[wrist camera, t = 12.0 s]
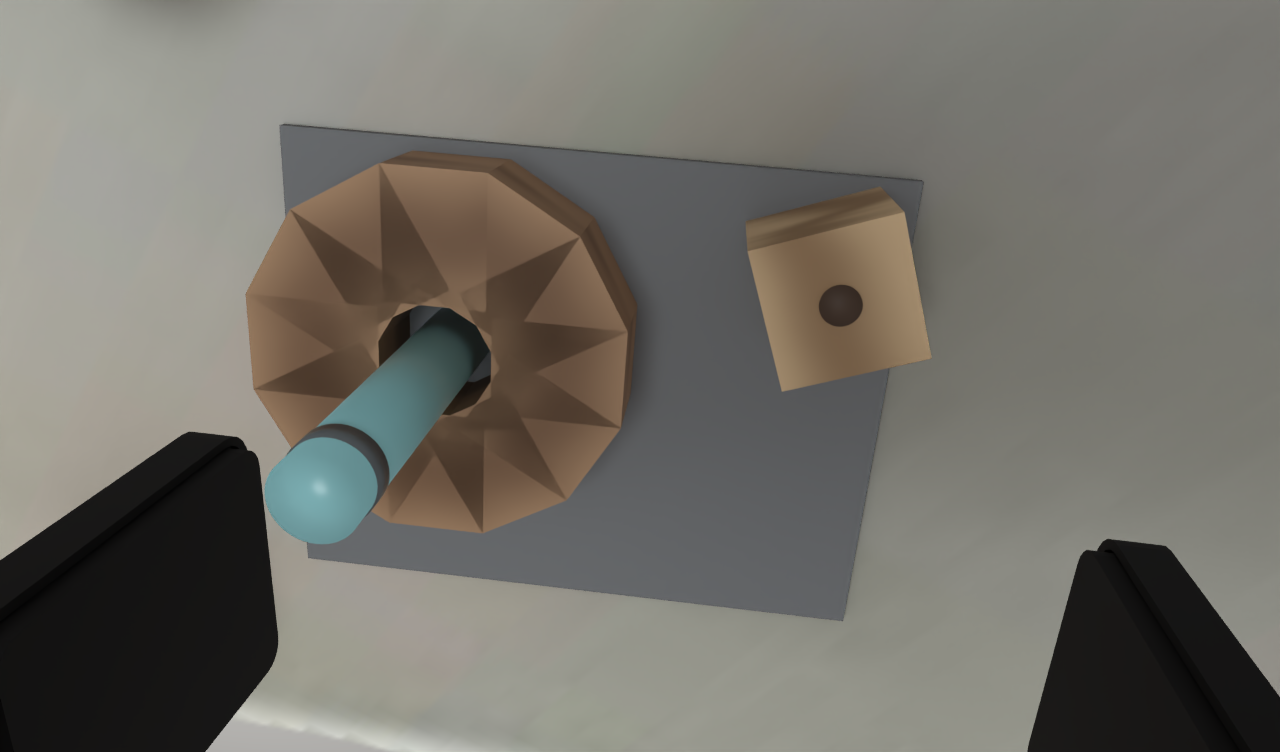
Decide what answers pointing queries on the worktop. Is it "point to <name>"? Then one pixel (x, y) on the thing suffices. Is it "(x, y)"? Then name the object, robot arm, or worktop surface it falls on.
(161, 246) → the worktop surface
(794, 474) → the felt mat
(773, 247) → the cube bead
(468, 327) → the teal marker pen
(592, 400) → the faceted wooden ring
